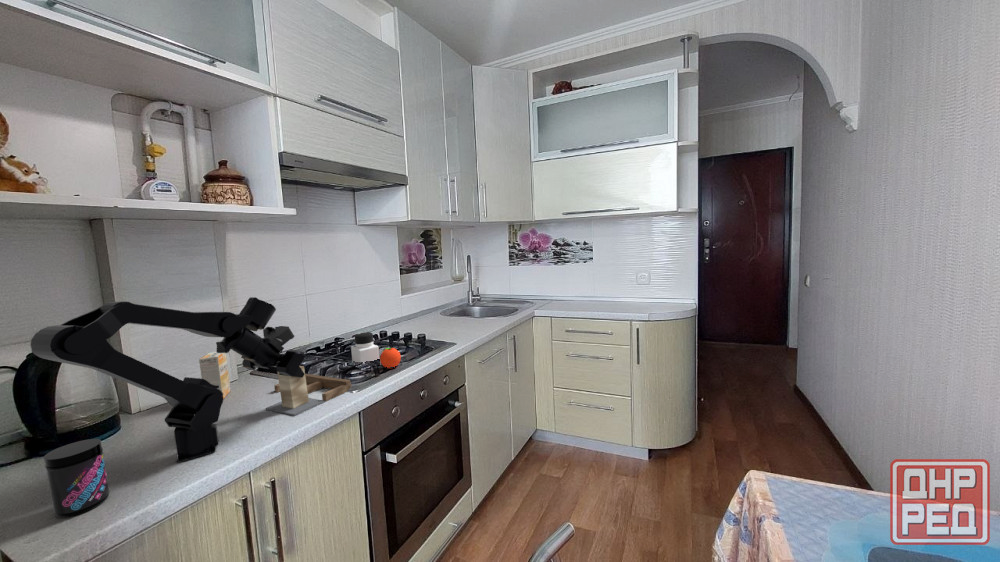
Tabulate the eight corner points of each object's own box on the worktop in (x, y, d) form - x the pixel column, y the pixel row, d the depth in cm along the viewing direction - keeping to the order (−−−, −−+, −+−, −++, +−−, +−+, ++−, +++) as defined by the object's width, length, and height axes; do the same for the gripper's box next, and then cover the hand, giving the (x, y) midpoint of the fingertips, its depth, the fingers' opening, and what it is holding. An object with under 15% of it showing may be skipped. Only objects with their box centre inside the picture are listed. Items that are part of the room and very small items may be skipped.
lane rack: (326, 401, 108) (325, 390, 108) (275, 391, 118) (273, 382, 118) (351, 389, 116) (350, 379, 116) (301, 381, 126) (300, 372, 126)
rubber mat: (295, 415, 100) (294, 414, 100) (265, 409, 105) (265, 407, 105) (324, 402, 108) (324, 400, 108) (296, 396, 113) (296, 395, 113)
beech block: (293, 408, 103) (288, 372, 102) (282, 406, 105) (277, 370, 104) (308, 401, 107) (303, 366, 106) (297, 399, 109) (292, 365, 108)
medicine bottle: (380, 365, 138) (377, 332, 137) (361, 370, 134) (357, 336, 132) (371, 361, 144) (368, 329, 142) (352, 366, 139) (349, 333, 138)
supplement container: (50, 525, 63) (38, 464, 62) (58, 506, 68) (47, 449, 67) (109, 505, 67) (99, 448, 66) (112, 488, 72) (103, 434, 71)
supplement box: (224, 400, 114) (218, 356, 113) (204, 403, 112) (198, 359, 111) (231, 390, 122) (226, 349, 120) (213, 393, 120) (207, 352, 119)
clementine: (375, 368, 135) (373, 348, 134) (392, 363, 140) (390, 343, 140) (388, 372, 130) (386, 351, 129) (405, 366, 135) (404, 346, 134)
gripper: (294, 319, 96) (335, 351, 107) (248, 317, 105) (291, 346, 115) (266, 360, 90) (313, 389, 101) (220, 354, 98) (268, 381, 109)
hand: (296, 374), depth 107 cm, fingers open, 5 cm apart
